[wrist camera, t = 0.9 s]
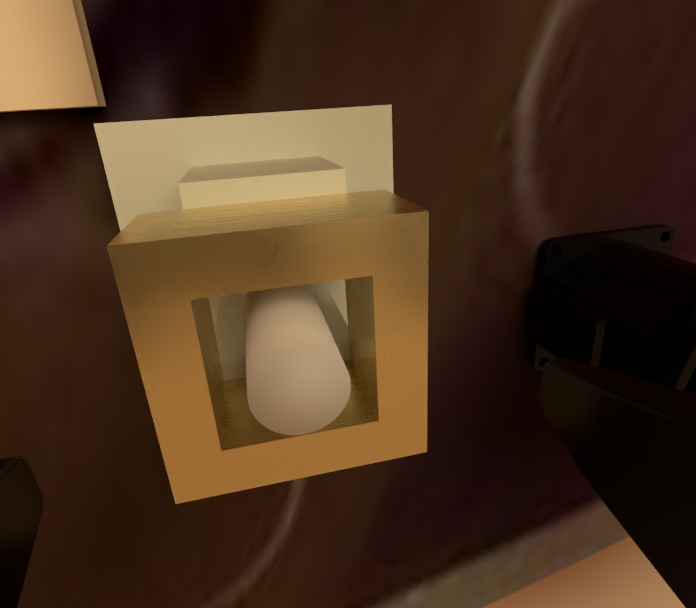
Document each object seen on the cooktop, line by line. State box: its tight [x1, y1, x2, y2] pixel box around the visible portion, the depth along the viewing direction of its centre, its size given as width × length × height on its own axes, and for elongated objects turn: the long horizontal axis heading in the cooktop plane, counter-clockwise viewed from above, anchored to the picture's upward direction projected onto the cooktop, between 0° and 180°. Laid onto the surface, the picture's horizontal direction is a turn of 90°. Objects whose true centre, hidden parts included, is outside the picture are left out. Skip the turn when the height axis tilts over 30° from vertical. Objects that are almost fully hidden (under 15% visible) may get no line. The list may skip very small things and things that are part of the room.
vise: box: [94, 105, 394, 435], centre depth 14 cm, size 9×10×10 cm
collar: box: [107, 189, 429, 504], centre depth 11 cm, size 6×6×3 cm
